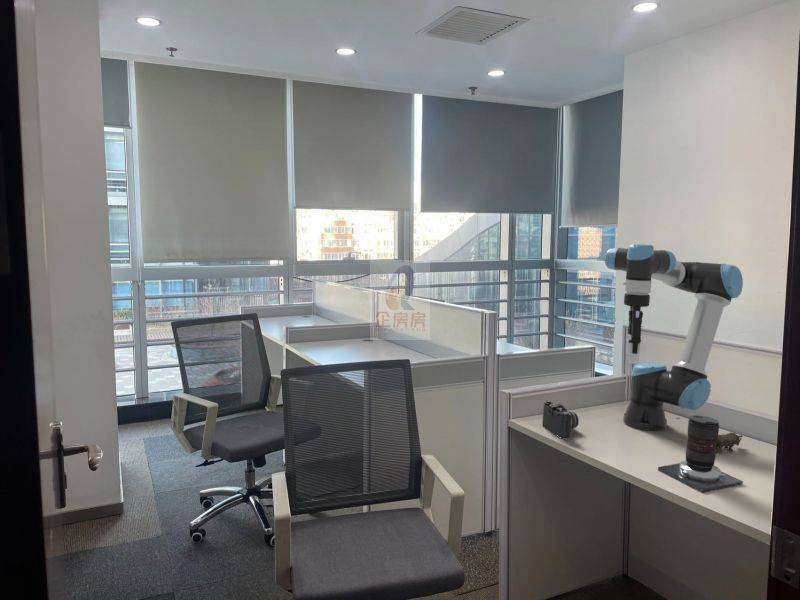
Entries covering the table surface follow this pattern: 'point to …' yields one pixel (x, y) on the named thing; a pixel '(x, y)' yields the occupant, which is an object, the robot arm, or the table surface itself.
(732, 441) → the rhino figurine
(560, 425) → the camera
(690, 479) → the mount
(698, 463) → the camera lens
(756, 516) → the table surface
